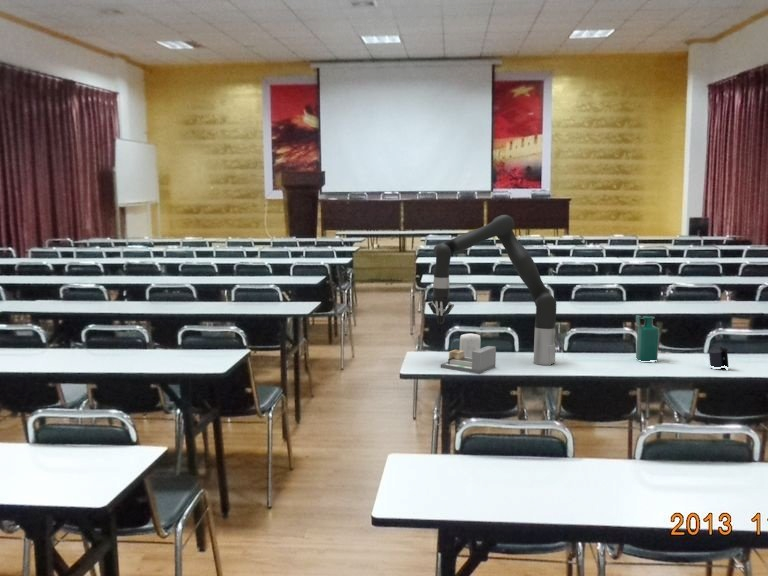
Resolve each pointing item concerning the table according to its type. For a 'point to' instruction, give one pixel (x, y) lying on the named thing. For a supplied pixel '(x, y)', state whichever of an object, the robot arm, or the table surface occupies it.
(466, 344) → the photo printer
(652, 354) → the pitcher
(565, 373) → the table surface
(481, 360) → the base
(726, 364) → the speaker
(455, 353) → the gauge carriage
